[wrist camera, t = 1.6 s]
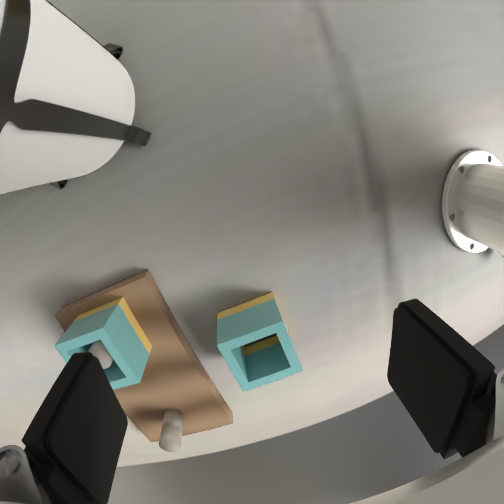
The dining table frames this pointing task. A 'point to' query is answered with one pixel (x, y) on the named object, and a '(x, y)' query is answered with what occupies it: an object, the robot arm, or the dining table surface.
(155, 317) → the pin board
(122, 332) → the seated sleeve
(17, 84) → the coffee press
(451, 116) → the dining table surface
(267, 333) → the sleeve
